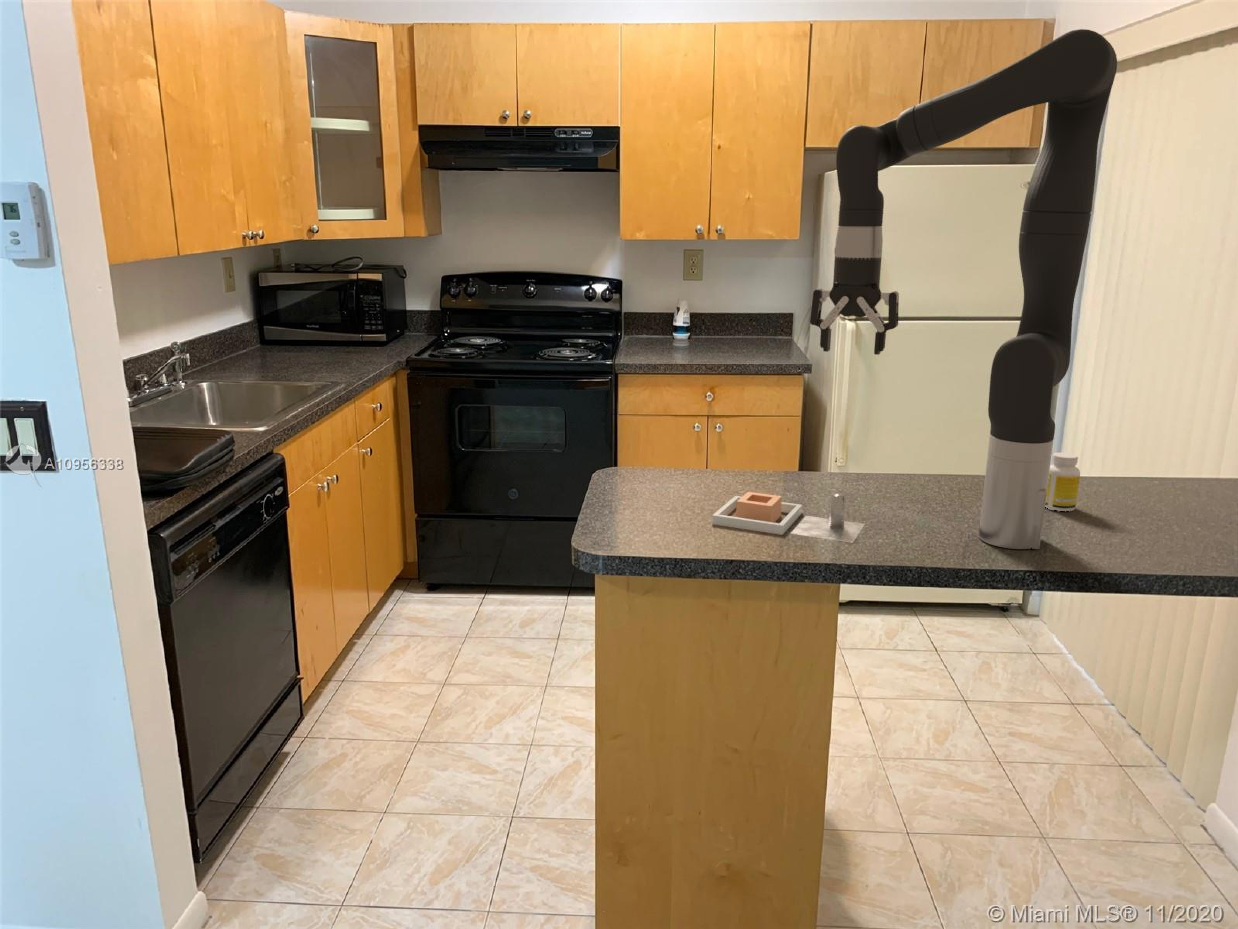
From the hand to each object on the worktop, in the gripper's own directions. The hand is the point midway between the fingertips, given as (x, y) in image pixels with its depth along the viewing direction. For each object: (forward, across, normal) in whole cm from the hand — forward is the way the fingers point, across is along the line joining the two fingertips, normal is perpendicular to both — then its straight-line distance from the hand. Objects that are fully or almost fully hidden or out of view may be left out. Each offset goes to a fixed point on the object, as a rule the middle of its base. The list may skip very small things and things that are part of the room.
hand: (851, 352), depth 157 cm
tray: (+28, +11, +14) cm, 33 cm away
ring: (+28, +11, +14) cm, 33 cm away
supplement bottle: (+28, -35, -18) cm, 48 cm away
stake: (+28, -1, +14) cm, 31 cm away
